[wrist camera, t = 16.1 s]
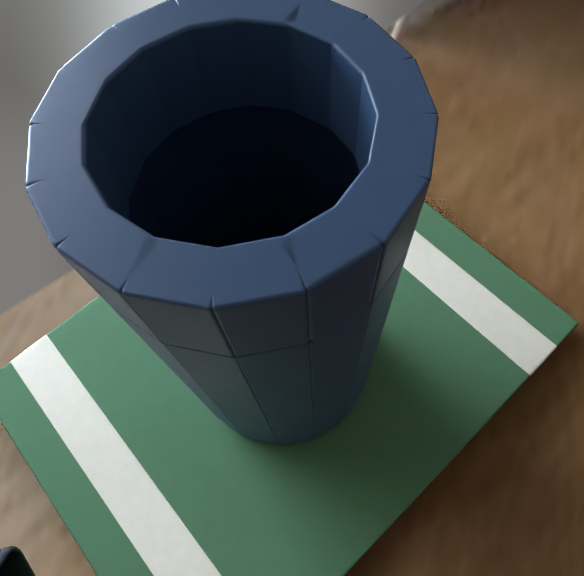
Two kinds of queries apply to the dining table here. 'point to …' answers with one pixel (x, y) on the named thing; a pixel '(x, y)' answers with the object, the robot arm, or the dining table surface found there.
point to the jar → (241, 195)
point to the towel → (268, 457)
